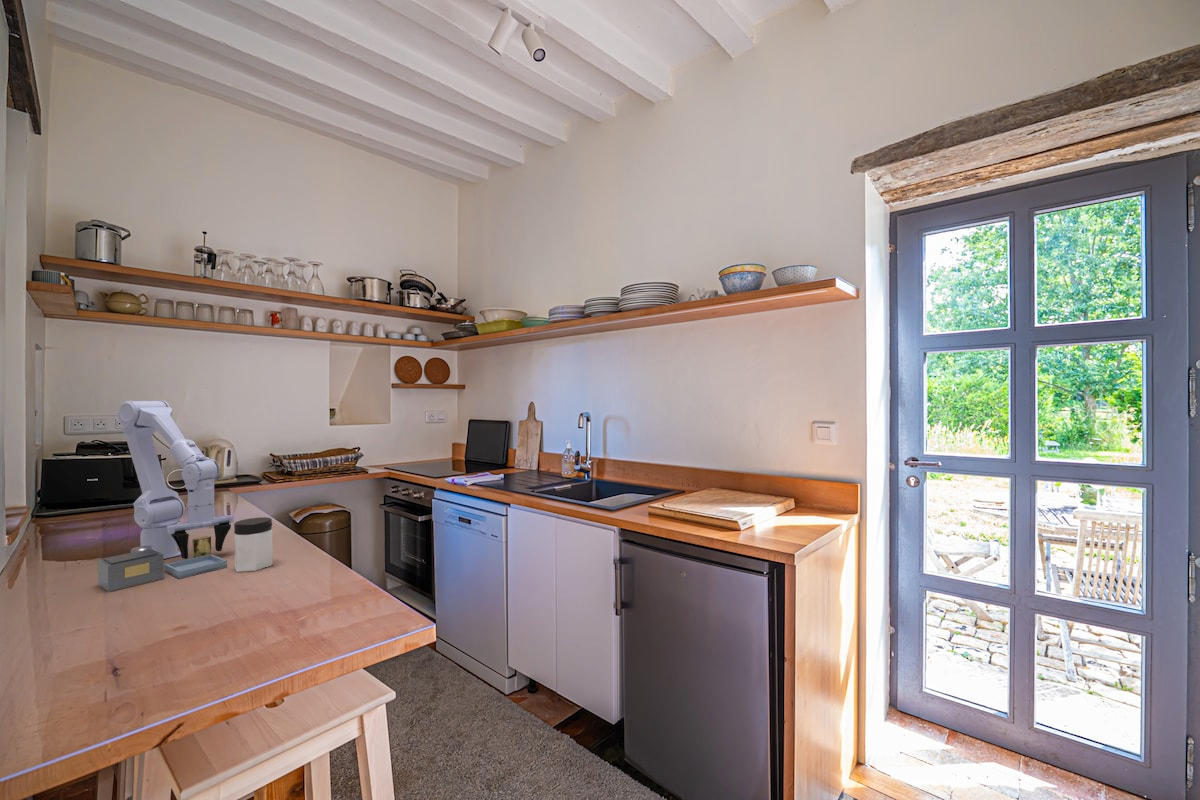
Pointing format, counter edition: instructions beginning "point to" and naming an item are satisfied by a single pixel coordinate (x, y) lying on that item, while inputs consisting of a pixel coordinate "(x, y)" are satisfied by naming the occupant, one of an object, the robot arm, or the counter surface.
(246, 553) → the jar
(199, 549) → the part brass
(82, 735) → the counter surface
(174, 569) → the tray
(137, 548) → the part grey
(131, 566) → the unit
